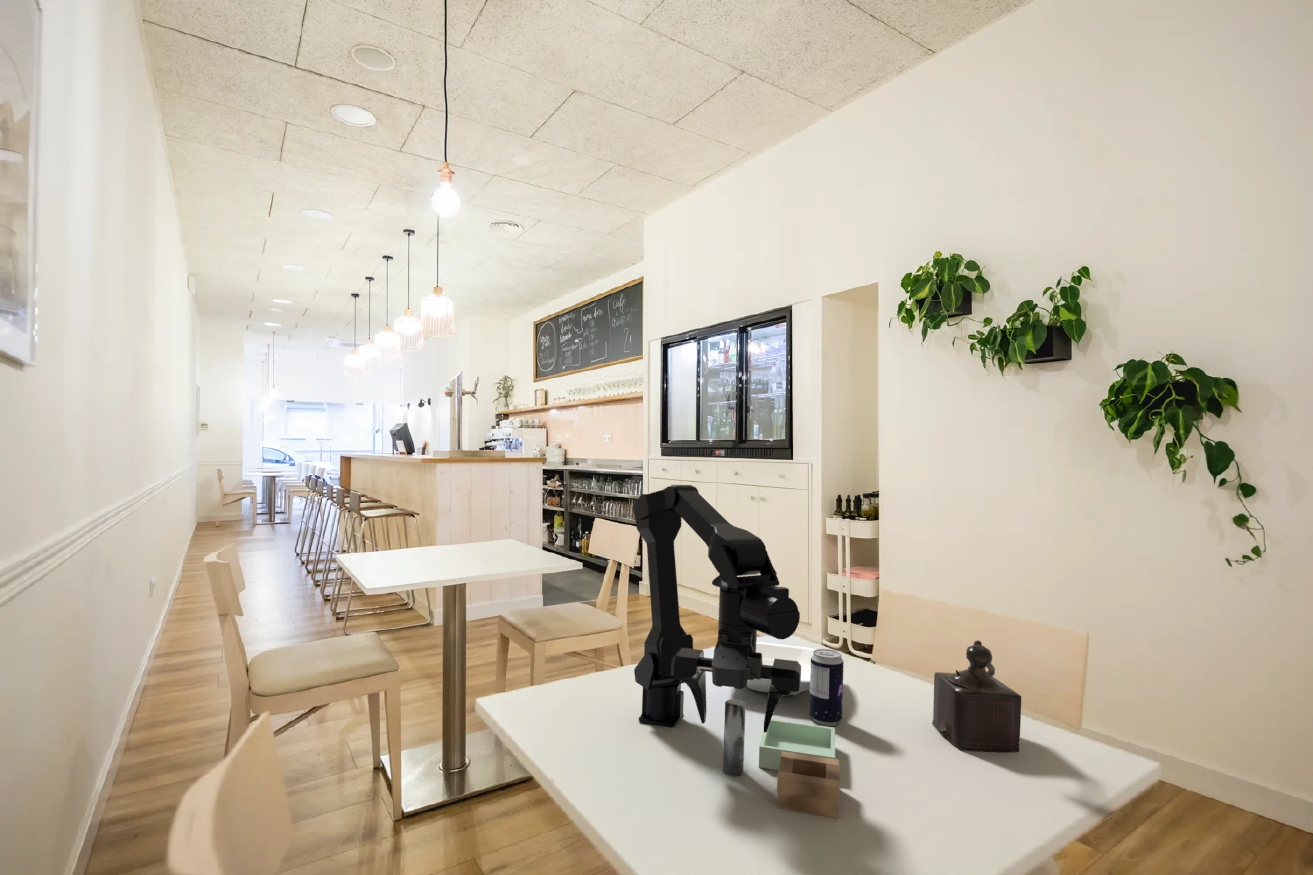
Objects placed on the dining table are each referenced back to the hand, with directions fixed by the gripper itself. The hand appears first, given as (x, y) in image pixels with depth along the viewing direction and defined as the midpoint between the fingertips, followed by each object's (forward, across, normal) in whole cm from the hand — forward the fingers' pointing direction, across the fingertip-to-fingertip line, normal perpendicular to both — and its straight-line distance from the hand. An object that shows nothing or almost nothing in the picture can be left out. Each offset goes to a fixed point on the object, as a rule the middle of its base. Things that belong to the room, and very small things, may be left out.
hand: (734, 726), depth 97 cm
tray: (+6, +9, +8) cm, 14 cm away
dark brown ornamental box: (+7, +38, +23) cm, 45 cm away
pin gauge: (+6, 0, 0) cm, 7 cm away
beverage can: (+7, +13, +24) cm, 28 cm away
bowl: (+7, +3, +38) cm, 39 cm away
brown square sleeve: (+6, +11, -4) cm, 13 cm away
